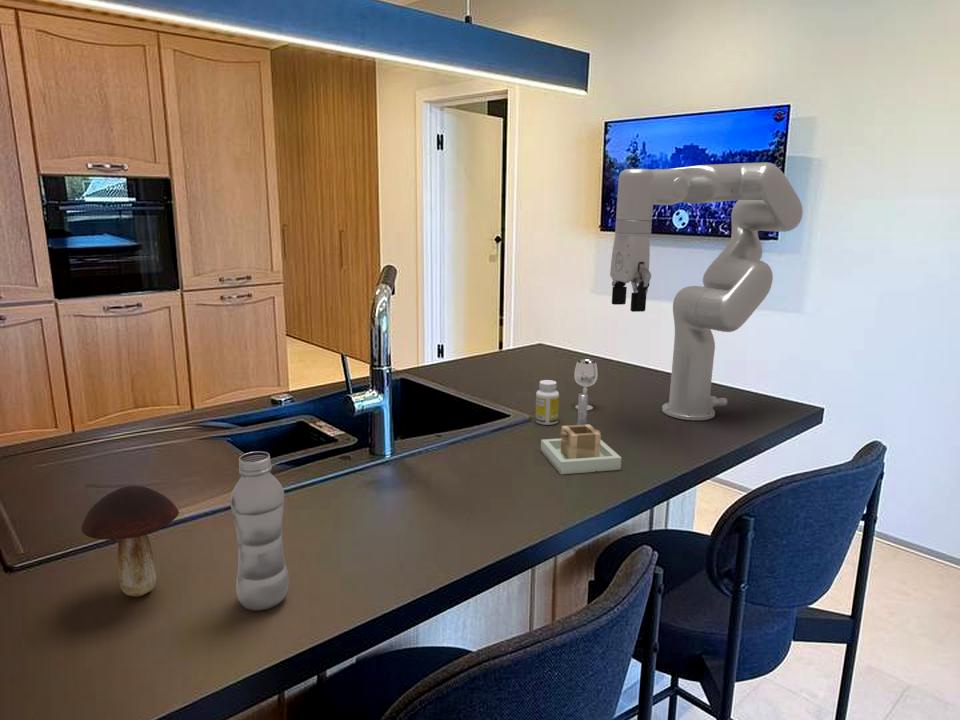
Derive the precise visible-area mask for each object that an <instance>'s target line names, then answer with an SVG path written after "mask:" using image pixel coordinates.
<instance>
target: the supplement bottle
mask: <svg viewBox="0 0 960 720" xmlns="http://www.w3.org/2000/svg"><path fill="white" fill-rule="evenodd" d="M538 388H539V390H537V391H536V393H535V422H536V423H537V424H539V425H544V426H552V425H556V424H557V423H558V422H559V411H560V409H559V408H560V407H559V406H560V393H559V391H558V390H556V389H557V381H555V380H550V379H544V380H540V381H539V386H538Z"/></svg>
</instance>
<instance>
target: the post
mask: <svg viewBox="0 0 960 720" xmlns="http://www.w3.org/2000/svg"><path fill="white" fill-rule="evenodd" d="M577 400H578V404H577V405H578V409H577V422H576V425H587V419H588V410H587V405H589V403H588V401H589V394H587V393H586V394H584V393H583V392H582V393H578V399H577Z"/></svg>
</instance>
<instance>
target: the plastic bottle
mask: <svg viewBox="0 0 960 720" xmlns="http://www.w3.org/2000/svg"><path fill="white" fill-rule="evenodd" d="M238 465H239V468H238V474H239V475H240V476H241V477H240V478H239V479H238V481H237V482H236V484H235V485H234V488H233V489H232V491H231V496H230V497H229V503H230V509H231V513H232V518H233V522H234V525H235V532H236V539H237V546H238V554H237V555H238V556H237V557H238V560H237V566H238V567H237V574H236V580H235V581H236V582H235V592H236V595H237V599H238V601H239V603H240V604H241V605H242V607H244V608H245V609H247V610H251V611H262V610H263V611H264V610H268V609H271V608H273V607H276V606H278V605H279V604H280V603H282V602H283V600H284V599H285V597H286V595H287V594H288V591H289V585H290V576H289V572H288V568H287V564H286V561H285V553H284V545H283V513H284V505H285V490H284V487H283V486H282V484H281V483H280V481H279V479H277V477H275V476H274V475H273V474H272V473H271V471H272V467H273V465H272V463H271V456H270V453H269V452H267V451H261V450H260V451H259V450H258V451H250V452H246V453H244V454H242V455H240V456H239V458H238Z"/></svg>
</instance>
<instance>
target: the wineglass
mask: <svg viewBox="0 0 960 720" xmlns="http://www.w3.org/2000/svg"><path fill="white" fill-rule="evenodd" d="M573 376H574V381H575V382H576V384H578V385H579V386H581V387H583V389H582V393H584V394H587V391H588V388H587V387H591V386H593V385H595V383H597V380H598V366H597V361H595V360H592V359H578V360H577V361H576V364H575V368H574V375H573ZM574 408H575V409H577V410H578V404H576V405H575V407H574ZM593 408H594V407H593V406H592V405H589V404H587V411H590V410H593Z"/></svg>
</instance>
